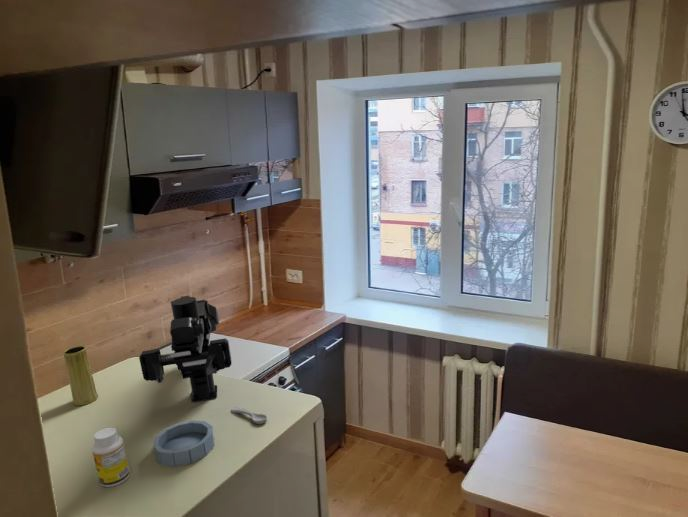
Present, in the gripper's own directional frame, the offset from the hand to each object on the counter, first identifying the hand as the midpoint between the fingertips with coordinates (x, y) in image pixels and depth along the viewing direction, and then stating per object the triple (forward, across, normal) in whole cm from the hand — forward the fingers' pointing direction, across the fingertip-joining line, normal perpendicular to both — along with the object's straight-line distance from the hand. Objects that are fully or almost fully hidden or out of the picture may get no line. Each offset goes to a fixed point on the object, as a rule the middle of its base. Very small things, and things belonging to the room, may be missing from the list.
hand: (182, 377), depth 106 cm
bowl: (0, -2, +17) cm, 17 cm away
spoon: (-9, +11, +18) cm, 23 cm away
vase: (-34, -31, +19) cm, 49 cm away
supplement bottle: (+6, -15, +17) cm, 23 cm away
